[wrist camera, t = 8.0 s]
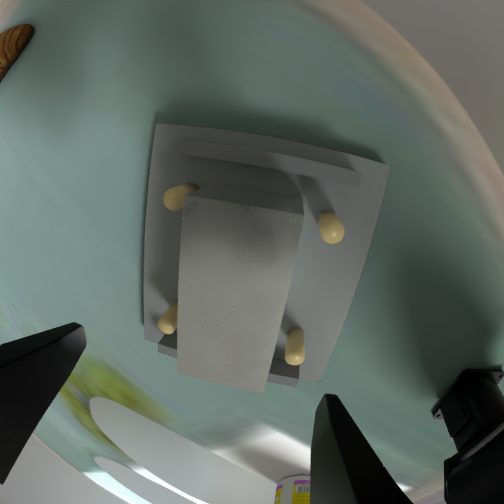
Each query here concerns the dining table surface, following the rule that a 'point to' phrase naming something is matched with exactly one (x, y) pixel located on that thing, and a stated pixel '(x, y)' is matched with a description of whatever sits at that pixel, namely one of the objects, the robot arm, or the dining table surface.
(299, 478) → the supplement bottle
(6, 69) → the croissant
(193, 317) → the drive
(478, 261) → the dining table surface
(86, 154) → the dining table surface
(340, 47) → the dining table surface
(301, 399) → the dining table surface
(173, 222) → the tray
